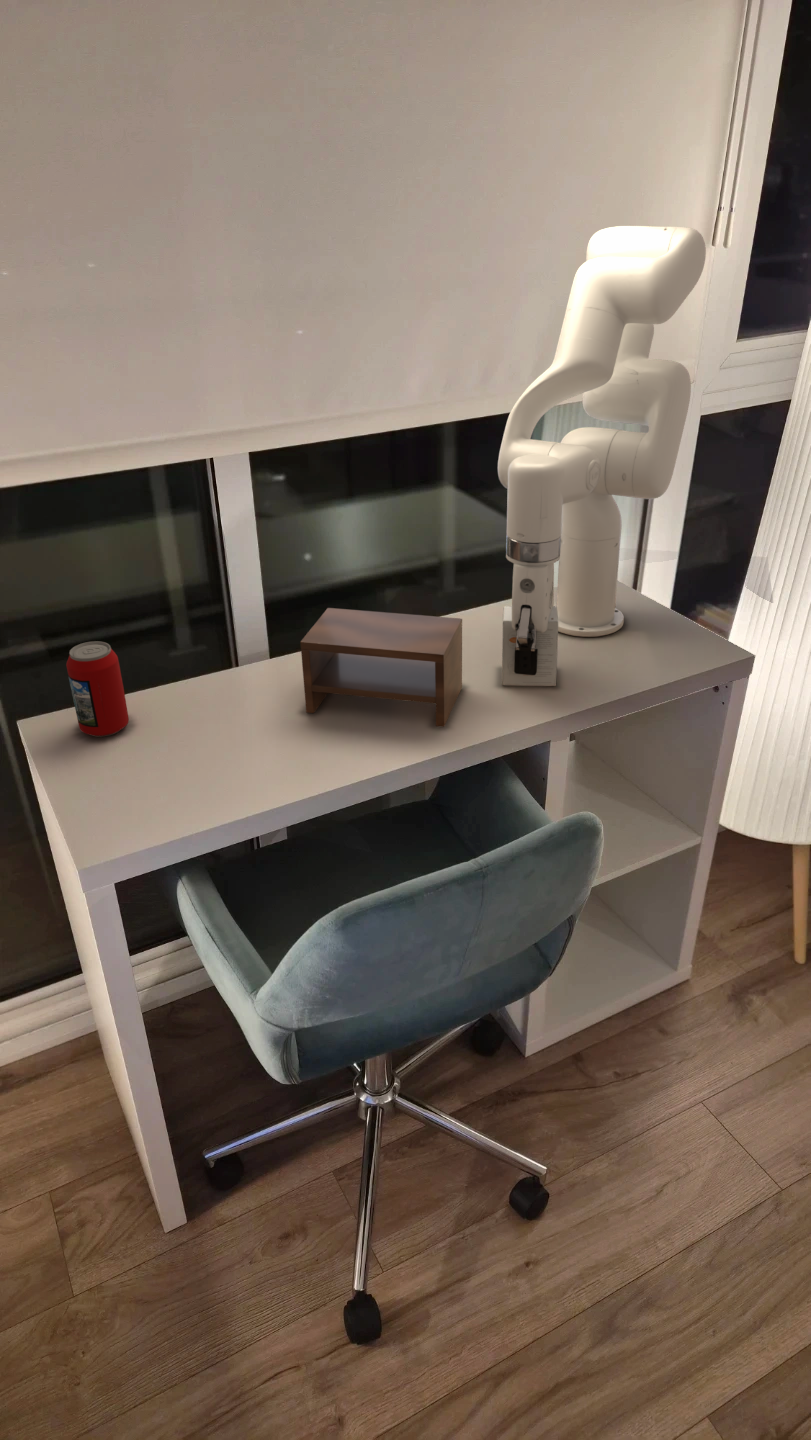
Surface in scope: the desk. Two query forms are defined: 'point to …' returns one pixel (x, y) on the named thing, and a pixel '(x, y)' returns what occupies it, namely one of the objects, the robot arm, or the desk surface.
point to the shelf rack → (384, 658)
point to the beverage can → (97, 689)
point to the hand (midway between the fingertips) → (529, 662)
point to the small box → (545, 655)
